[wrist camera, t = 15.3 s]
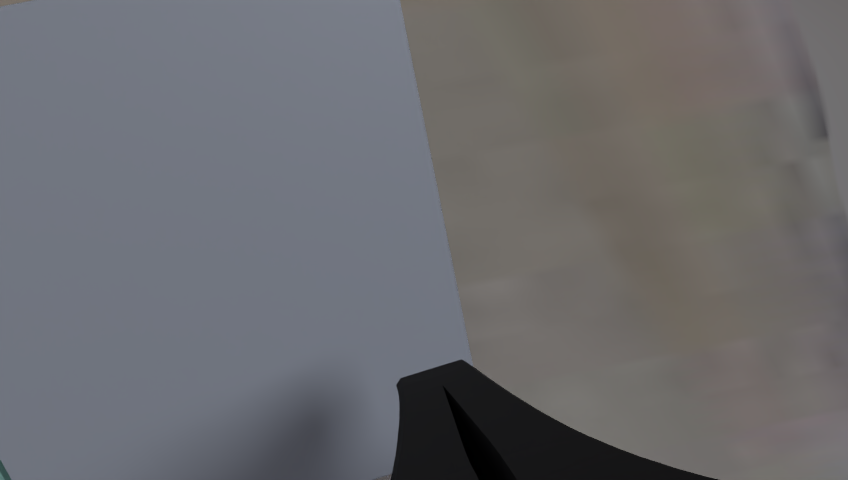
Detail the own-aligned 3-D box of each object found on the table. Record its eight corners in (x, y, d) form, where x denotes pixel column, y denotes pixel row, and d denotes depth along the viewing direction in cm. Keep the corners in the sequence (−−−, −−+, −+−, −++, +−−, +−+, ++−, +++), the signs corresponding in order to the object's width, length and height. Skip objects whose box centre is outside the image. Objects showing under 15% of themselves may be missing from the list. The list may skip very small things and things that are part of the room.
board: (457, 384, 22) (488, 441, 19) (102, 497, 20) (69, 581, 17) (366, -45, 17) (386, -67, 14) (-122, 50, 15) (-230, 50, 12)
